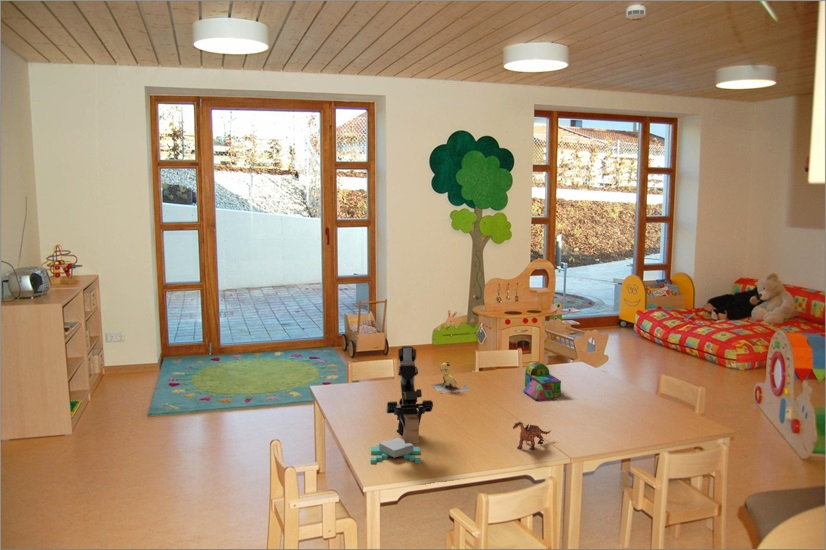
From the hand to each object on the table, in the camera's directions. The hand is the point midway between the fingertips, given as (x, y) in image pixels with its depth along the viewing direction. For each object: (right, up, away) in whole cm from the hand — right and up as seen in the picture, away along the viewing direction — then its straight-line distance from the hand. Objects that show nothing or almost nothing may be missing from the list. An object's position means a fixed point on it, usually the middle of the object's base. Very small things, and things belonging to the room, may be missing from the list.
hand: (411, 426), depth 265 cm
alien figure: (-7, -14, +6) cm, 16 cm away
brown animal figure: (+50, -12, +14) cm, 53 cm away
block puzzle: (+69, -3, +89) cm, 112 cm away
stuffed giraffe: (+21, -1, +95) cm, 97 cm away
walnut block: (0, -6, +2) cm, 7 cm away
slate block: (-6, -11, +5) cm, 14 cm away
